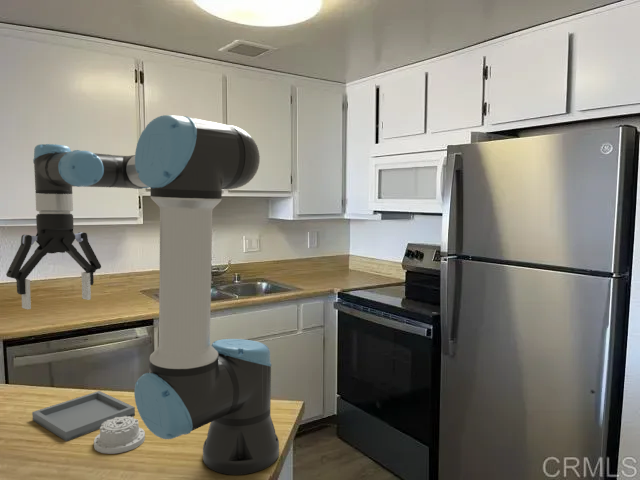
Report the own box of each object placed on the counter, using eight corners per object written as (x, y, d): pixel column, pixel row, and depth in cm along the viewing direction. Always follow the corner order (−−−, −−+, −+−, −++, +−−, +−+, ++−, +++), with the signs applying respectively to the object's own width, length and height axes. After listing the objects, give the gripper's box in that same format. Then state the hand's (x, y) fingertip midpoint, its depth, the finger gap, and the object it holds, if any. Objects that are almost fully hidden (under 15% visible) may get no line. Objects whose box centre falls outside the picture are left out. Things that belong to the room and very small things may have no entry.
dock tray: (134, 415, 115) (134, 407, 115) (66, 441, 102) (65, 432, 102) (99, 398, 125) (99, 390, 124) (32, 420, 112) (32, 411, 112)
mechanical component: (83, 452, 98) (127, 458, 96) (82, 431, 98) (126, 436, 96) (113, 429, 108) (154, 434, 106) (112, 410, 108) (153, 415, 106)
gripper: (98, 212, 124) (100, 293, 126) (-14, 213, 104) (-10, 310, 106) (114, 212, 119) (116, 297, 121) (0, 213, 100) (4, 315, 101)
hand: (57, 303), depth 113 cm, fingers open, 13 cm apart
